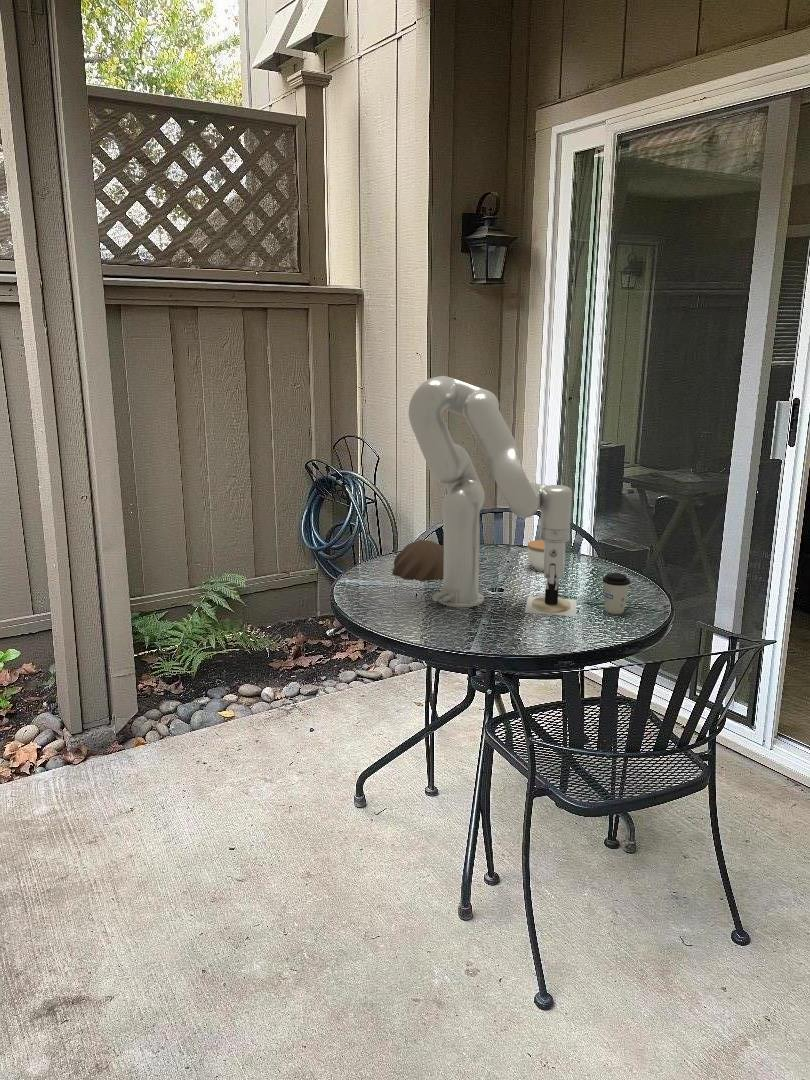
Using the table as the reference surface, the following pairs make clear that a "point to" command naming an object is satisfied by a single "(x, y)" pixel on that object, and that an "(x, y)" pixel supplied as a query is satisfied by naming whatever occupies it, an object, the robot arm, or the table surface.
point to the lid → (551, 605)
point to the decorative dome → (420, 561)
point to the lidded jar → (536, 554)
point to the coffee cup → (615, 592)
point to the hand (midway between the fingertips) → (551, 600)
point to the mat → (569, 612)
